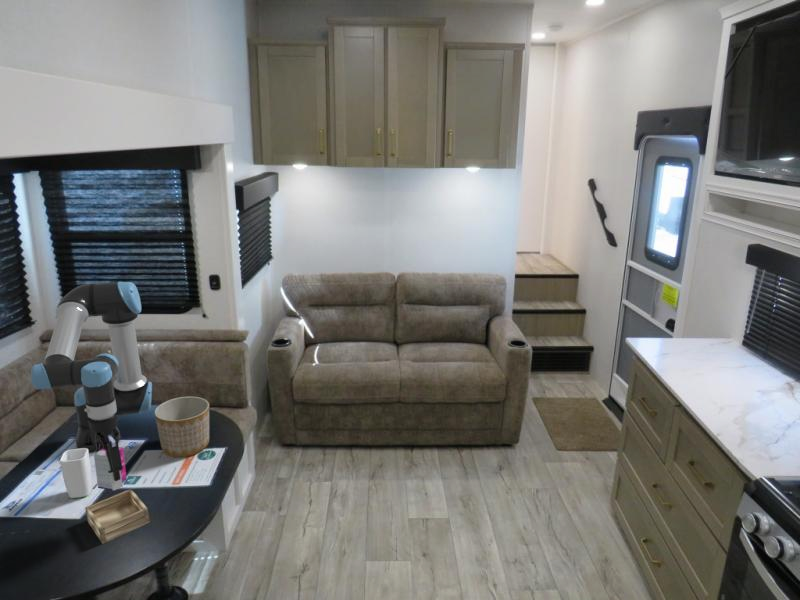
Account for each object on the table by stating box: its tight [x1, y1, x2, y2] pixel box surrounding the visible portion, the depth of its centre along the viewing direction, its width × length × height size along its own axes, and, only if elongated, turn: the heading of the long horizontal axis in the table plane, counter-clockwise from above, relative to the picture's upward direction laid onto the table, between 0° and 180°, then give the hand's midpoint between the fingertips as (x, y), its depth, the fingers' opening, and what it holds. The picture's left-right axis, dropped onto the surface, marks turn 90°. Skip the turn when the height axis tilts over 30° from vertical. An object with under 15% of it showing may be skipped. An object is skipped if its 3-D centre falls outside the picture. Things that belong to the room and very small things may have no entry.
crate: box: [84, 488, 150, 545], centre depth 169 cm, size 14×14×5 cm
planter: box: [153, 395, 210, 458], centre depth 209 cm, size 19×19×16 cm
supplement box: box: [93, 446, 127, 491], centre depth 164 cm, size 6×6×12 cm
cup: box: [59, 448, 92, 499], centre depth 180 cm, size 7×7×15 cm
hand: (112, 481), depth 166 cm, fingers closed on supplement box, 8 cm apart
